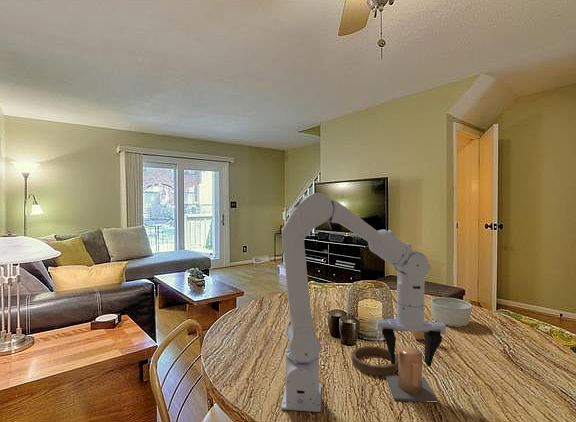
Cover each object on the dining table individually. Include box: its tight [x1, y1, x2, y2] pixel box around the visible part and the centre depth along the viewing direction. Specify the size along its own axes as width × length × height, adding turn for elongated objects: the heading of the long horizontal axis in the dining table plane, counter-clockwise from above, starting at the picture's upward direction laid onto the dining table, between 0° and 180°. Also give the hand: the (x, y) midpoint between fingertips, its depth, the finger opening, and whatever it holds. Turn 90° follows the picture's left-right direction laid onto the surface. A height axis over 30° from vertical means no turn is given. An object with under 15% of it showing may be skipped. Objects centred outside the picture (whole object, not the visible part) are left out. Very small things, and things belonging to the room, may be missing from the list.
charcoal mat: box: [385, 374, 439, 403], centre depth 70 cm, size 9×9×1 cm
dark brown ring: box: [351, 345, 399, 377], centre depth 82 cm, size 12×12×2 cm
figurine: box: [411, 303, 432, 341], centre depth 98 cm, size 8×6×12 cm
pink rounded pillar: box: [397, 346, 423, 394], centre depth 69 cm, size 7×5×8 cm
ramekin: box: [430, 296, 473, 328], centre depth 112 cm, size 13×13×7 cm
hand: (410, 363), depth 70 cm, fingers open, 7 cm apart
